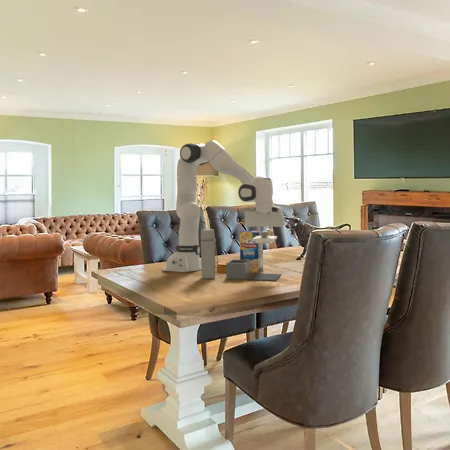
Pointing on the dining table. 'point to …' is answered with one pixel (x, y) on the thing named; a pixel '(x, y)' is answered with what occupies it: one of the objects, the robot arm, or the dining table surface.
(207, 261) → the water bottle
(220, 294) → the dining table surface
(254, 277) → the mat
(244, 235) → the beverage box
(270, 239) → the lid
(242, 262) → the storage box
